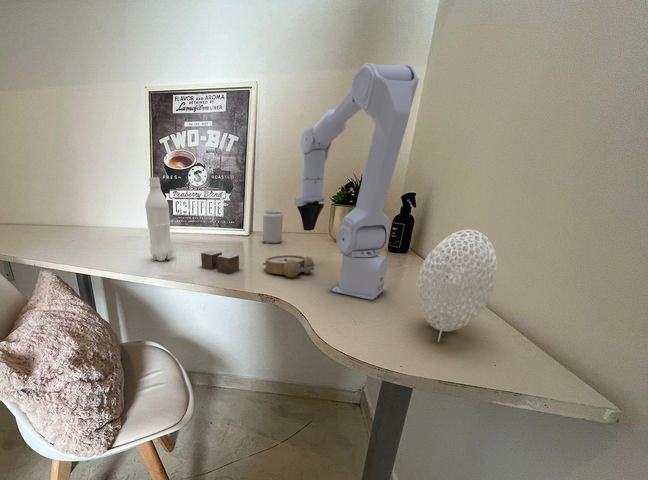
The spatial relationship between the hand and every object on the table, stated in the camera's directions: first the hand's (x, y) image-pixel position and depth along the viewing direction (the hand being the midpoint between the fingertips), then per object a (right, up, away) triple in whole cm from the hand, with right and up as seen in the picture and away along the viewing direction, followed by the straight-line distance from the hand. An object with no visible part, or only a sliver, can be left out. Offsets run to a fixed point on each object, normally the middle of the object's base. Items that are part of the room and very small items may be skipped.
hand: (308, 230), depth 96 cm
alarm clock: (-6, -13, -2) cm, 14 cm away
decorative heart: (+15, -28, -37) cm, 48 cm away
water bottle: (-45, -6, +14) cm, 47 cm away
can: (-6, +4, +36) cm, 37 cm away
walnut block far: (-28, -10, +4) cm, 30 cm away
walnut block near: (-23, -12, 0) cm, 26 cm away
